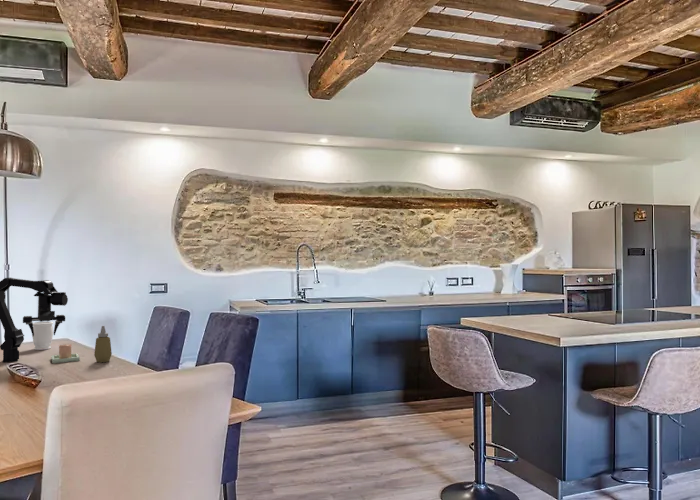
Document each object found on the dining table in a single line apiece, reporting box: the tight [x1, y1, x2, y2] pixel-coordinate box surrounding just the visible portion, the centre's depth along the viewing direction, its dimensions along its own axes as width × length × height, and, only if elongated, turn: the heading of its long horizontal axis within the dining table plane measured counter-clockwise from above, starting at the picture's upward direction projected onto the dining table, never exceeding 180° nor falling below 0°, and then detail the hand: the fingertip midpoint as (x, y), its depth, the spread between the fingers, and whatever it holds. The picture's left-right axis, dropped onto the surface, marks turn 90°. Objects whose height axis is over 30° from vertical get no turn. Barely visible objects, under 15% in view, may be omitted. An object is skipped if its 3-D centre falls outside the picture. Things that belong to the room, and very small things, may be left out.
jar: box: [31, 321, 54, 351], centre depth 307 cm, size 11×10×15 cm
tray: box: [51, 353, 81, 364], centre depth 275 cm, size 12×12×2 cm
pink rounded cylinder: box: [58, 343, 73, 359], centre depth 275 cm, size 6×6×7 cm
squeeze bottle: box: [94, 325, 113, 364], centre depth 272 cm, size 8×8×18 cm
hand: (43, 335), depth 274 cm, fingers open, 9 cm apart
